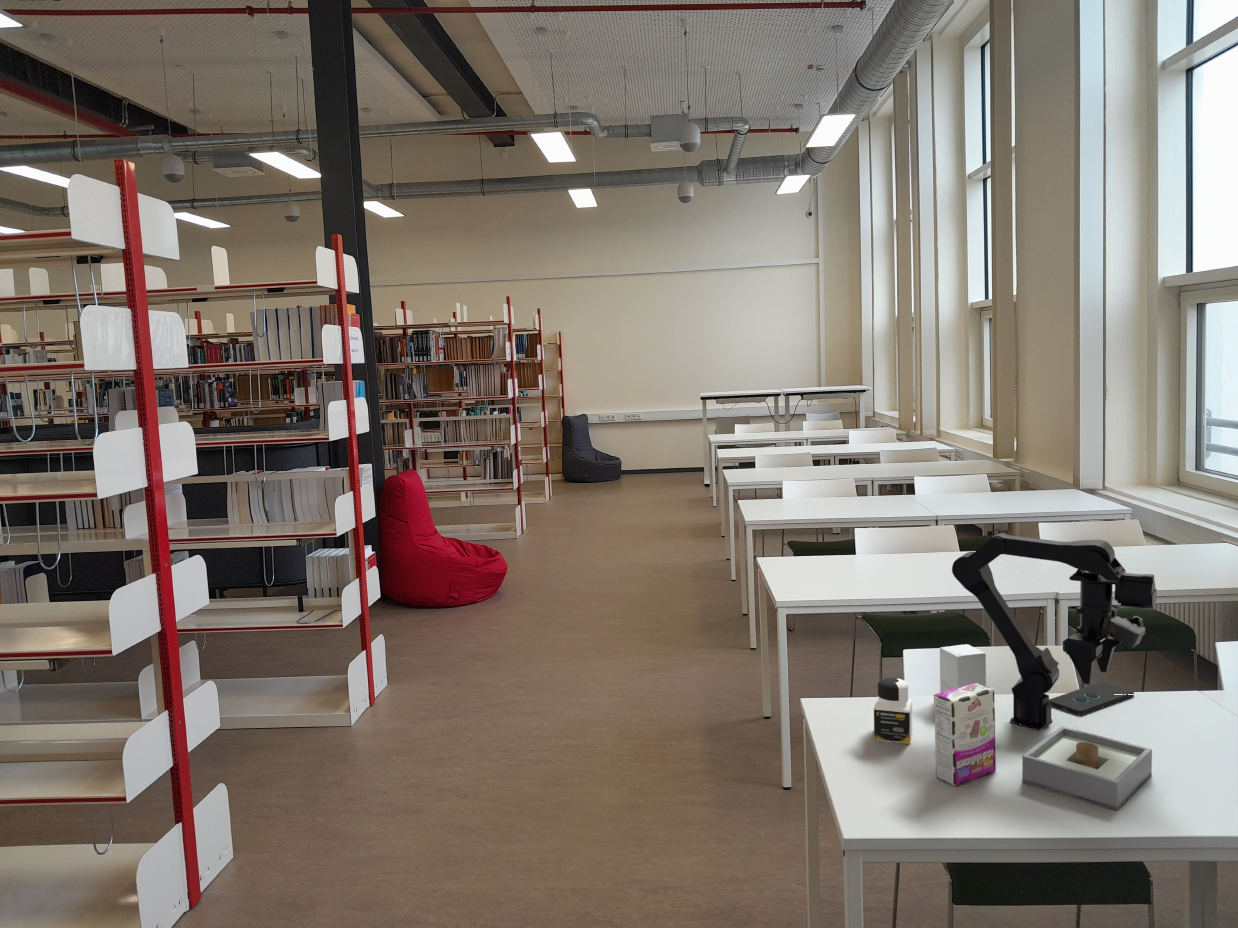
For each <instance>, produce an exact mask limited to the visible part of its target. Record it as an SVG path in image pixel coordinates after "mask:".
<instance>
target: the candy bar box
mask: <svg viewBox="0 0 1238 928" xmlns="http://www.w3.org/2000/svg"><path fill="white" fill-rule="evenodd" d="M933 704H934V705H933V707H934V708H933V709H934V734H935V735H934V741H935V742H934V744H935V747H934V748H935V777H936V778H937V779H939V780H941V781H943V782H945V783H947V784H950V785H951V786H954V787H958V786H960V785H963V784H967V783H968V782H971V781H973V780H976V779H979V778H982V777H985V776H986V775H989V774H993V773H994V772H996V771H997V770H996V769H997V766H996V765H997V761H996V760H997V759H996V755H997V754H996V717H995V716H996V713H995V712H996V711H995V710H996V709H995V688H993V687H990V686H987V685H986V686H985V685H981V684H980V683H975V682H974V683H971V684H967V685H964V686H961V687H957V688H954V689H951V690H948V691H944V692H941V693H940V692H938V693H935V694H934V693H933Z"/></svg>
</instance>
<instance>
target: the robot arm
mask: <svg viewBox="0 0 1238 928" xmlns="http://www.w3.org/2000/svg"><path fill="white" fill-rule="evenodd" d="M1001 555H1006V556H1014V557H1021V558H1030V559H1037V560H1044V561H1052V562H1058V563H1062V564H1065V565H1068V566H1070V567H1072V568H1074V569H1076V571H1075V572H1074V573H1072V574H1071V575H1070V576H1069V578H1068V579H1069V581H1075V582H1080V583H1079V584H1080V590H1079V591H1080V595H1079V596H1080V597H1079V598H1080V601H1079V603H1080V604H1079V606H1078V607H1077V608H1076V614H1079V617H1080V618H1079V626H1077V627H1076V633H1077V634H1076V633H1074V634H1071V636H1068V637H1067V638H1066V639H1064V640H1063V641H1062V651H1063V652H1064V653H1065V654H1066V655H1068V657H1069V658H1070V660H1071V662H1072V663H1073V665H1074V667H1075V669H1076V672H1077V673H1078V675H1079V677H1080V678H1081V681H1082V683H1083V684H1084V685H1088V686H1090V684H1091V681H1092V677H1093V672H1094V667H1095V666H1094V665H1095V661H1096V663H1097V666H1098V668H1099V670H1100V673H1101V672H1102V673H1107V672H1108V670H1109V666H1110V663H1111V661H1112V660H1111V659H1112V657H1113V653H1114V650H1115V648H1116V647H1117V646H1118V645H1120V644H1121V643H1122V644H1124V645H1125V646H1126V647H1128V648H1132V649H1133V648H1135V647H1136V646H1138V645H1139V644H1140V643H1141V641H1142V639H1143V636H1144V635H1145V634H1146V627H1145V626H1144V619H1143V618H1141V617H1139V616H1138V615H1134V616H1133V617H1131V618H1130V619H1128V618H1126V617H1125V618H1122V617H1120V616H1118V609H1116V607H1113V588H1114V600H1115V601H1116V602H1117V604H1120V606H1121V607H1124V608H1131V609H1132V608H1133V609H1134V608H1135V609H1141V610H1151V611H1154V610H1155V609H1156V605H1157V596H1158V595H1157V594H1158V593H1157V591H1158V589H1157V588H1156V581H1155V575H1154V574H1151V573H1142V574H1140V573H1129V572H1127V570H1126V568H1125V567H1124V566H1123V565H1122V564H1121V562H1119V560H1118V559H1117V557H1116V553H1115V549H1114V548H1113V546H1112V545H1111V544H1110V543H1109V542H1108V541H1106V540H1102V539H1085V540H1084V539H1082V540H1075V541H1074V540H1073V541H1061V540H1060V541H1059V540H1052V539H1045V538H1044V539H1043V538H1037V537H1036V538H1035V537H1029V536H1028V537H1026V536H1019V535H1010V534H1007V533H1002V532H1001V533H1000V532H999V533H997V534H995V535H993V536H992V537H991V538H989V539H988V541H987V542H986V543H985V544H983V545H982V546H980V547H979V548H977V549H976V550H975V551H969V552H965V553H964V554H962V555H961V556H960V557H958V558H957V559H955V560H954V562H953V564H952V567H951V573H952V575H953V577H954V578H955V579H956V581H957V582H959V583H960V584H961V586H962V587H963V588H964V589H966V591H968V592H969V593H971V594H972V595H973V596H975V598H976V599H977V600H978V601H979V603H980V604H981V606H982V607H983V609H984V610H985V612H986V613H987V615H988V617H989V619H990V621H992V623H993V625H994V626H995V628H996V630H998V633H1000V635H1001V637H1002V638H1003V639H1004V641H1005V643H1006V644H1007V646H1008V647H1009V649H1010V651H1011V652H1012V653H1013V655H1014V659H1015V661H1016V662H1015V663H1016V666H1017V667H1016V668H1017V671H1018V673H1019V675H1020V679H1019V680H1018V681H1017V682H1016V683H1015V684H1014V685H1013V686H1012V687H1011V692H1012V695H1013V703H1012V705H1013V714H1012V715H1013V716H1012V717H1011V718H1010V719H1009V722H1010V723H1012V724H1016V725H1020V726H1024V727H1028V728H1032V729H1035V730H1039V731H1040V730H1042V729H1043V728H1046V726H1047V725H1049V724H1051V723H1052V722H1053V719H1052V706H1051V703H1049V699H1050V695H1049V694H1046V693H1048V692H1050V691H1051V689H1052V688H1053V686H1054V685H1055V684H1056V682H1058V680H1059V677H1060V669H1059V667H1058V666H1059V665H1060V663H1059V662H1058V661H1057V660H1056V659H1055V658H1054V657H1053V655H1052V653H1051V651H1050V649H1049V648H1048V647H1045V648H1044V649H1040V648H1039V647H1038V646H1037V645H1035V644H1034V643H1033V642H1032V640H1031V638H1030V637H1029V635H1028V633H1026V630H1025V629H1024V628H1023V626H1022V625H1021V623H1020V622H1019V620H1018V618H1017V617H1016V616H1015V614H1014V613H1013V611H1012V610H1011V608H1010V606H1009V605H1008V603H1007V602H1006V600H1005V599H1004V598H1003V596H1002V594H1001V593H1000V591H999V589H997V587H996V584H995V579H994V575H993V572H992V570H991V568H990V565H989V564H990V563H992V562H993V561H994V560H995V559H997V558H998V557H999V556H1001ZM1113 586H1114V587H1113ZM1081 634H1082V635H1081Z"/></svg>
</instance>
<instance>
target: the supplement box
mask: <svg viewBox="0 0 1238 928" xmlns="http://www.w3.org/2000/svg"><path fill="white" fill-rule="evenodd" d="M986 655H987V653H986V652H984V651H982V650H980V649H978V648H976V647H974V646H972V645H971V644H967V643H966V644H957V645H951V646H942V647H939V681H940V682H939V687H940V689H939V693H941V692H944V691H948V690H951V689H954V688H957V687H961V686H964V685H967V684H971V683H974V682H975V683H980V684H981V685H985V686H987V672H986V671H987V670H986V669H987V664H986V663H987V662H986V661H987V660H986V659H987V658H986V657H987V656H986Z"/></svg>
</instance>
